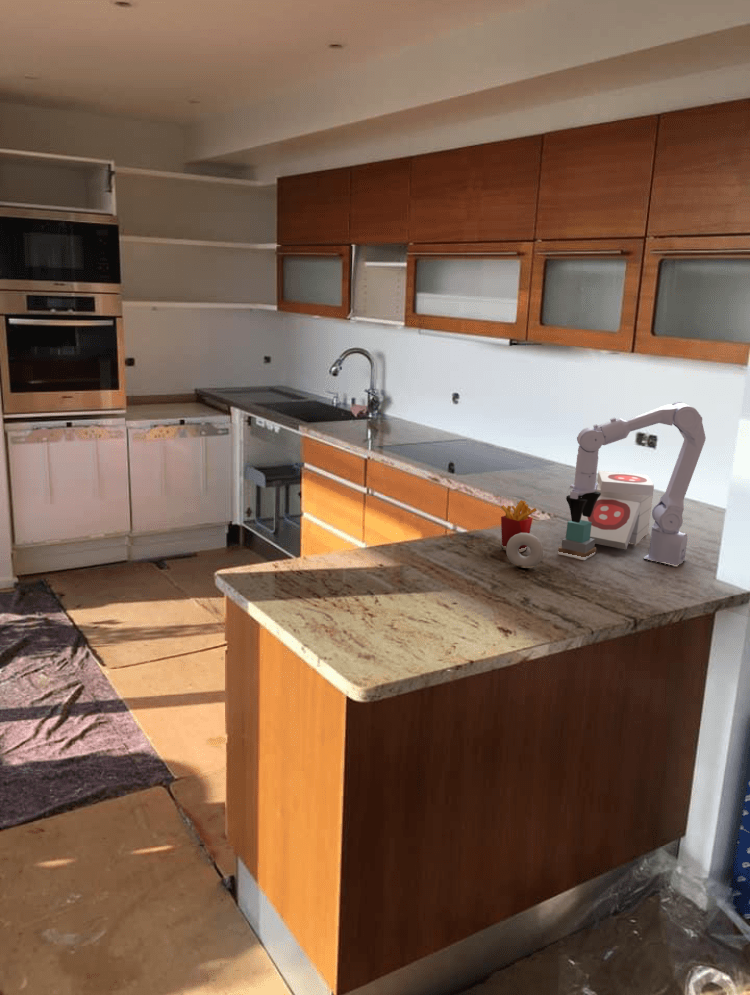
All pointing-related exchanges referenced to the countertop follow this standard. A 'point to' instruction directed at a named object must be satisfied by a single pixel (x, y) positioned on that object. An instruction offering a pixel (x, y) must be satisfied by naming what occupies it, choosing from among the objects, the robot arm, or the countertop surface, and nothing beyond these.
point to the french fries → (516, 521)
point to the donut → (529, 541)
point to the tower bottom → (577, 552)
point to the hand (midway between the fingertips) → (581, 519)
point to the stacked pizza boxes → (621, 509)
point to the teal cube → (578, 531)
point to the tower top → (578, 545)
